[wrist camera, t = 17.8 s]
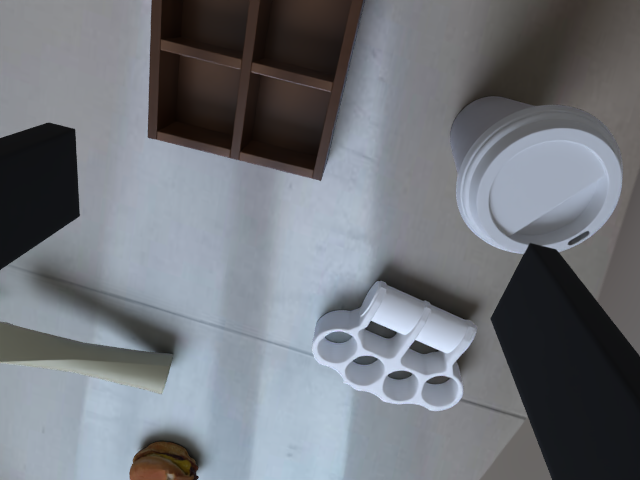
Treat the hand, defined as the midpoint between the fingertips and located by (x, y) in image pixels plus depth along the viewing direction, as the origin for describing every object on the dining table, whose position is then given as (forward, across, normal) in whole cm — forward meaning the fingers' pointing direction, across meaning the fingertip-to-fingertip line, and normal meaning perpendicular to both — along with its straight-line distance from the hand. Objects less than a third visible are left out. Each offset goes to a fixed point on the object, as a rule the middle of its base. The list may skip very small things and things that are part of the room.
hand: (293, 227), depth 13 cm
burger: (+29, -13, -58) cm, 66 cm away
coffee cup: (+29, +13, -1) cm, 32 cm away
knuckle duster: (+29, +12, -26) cm, 41 cm away
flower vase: (+29, -30, -34) cm, 54 cm away
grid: (+29, -8, +4) cm, 30 cm away
